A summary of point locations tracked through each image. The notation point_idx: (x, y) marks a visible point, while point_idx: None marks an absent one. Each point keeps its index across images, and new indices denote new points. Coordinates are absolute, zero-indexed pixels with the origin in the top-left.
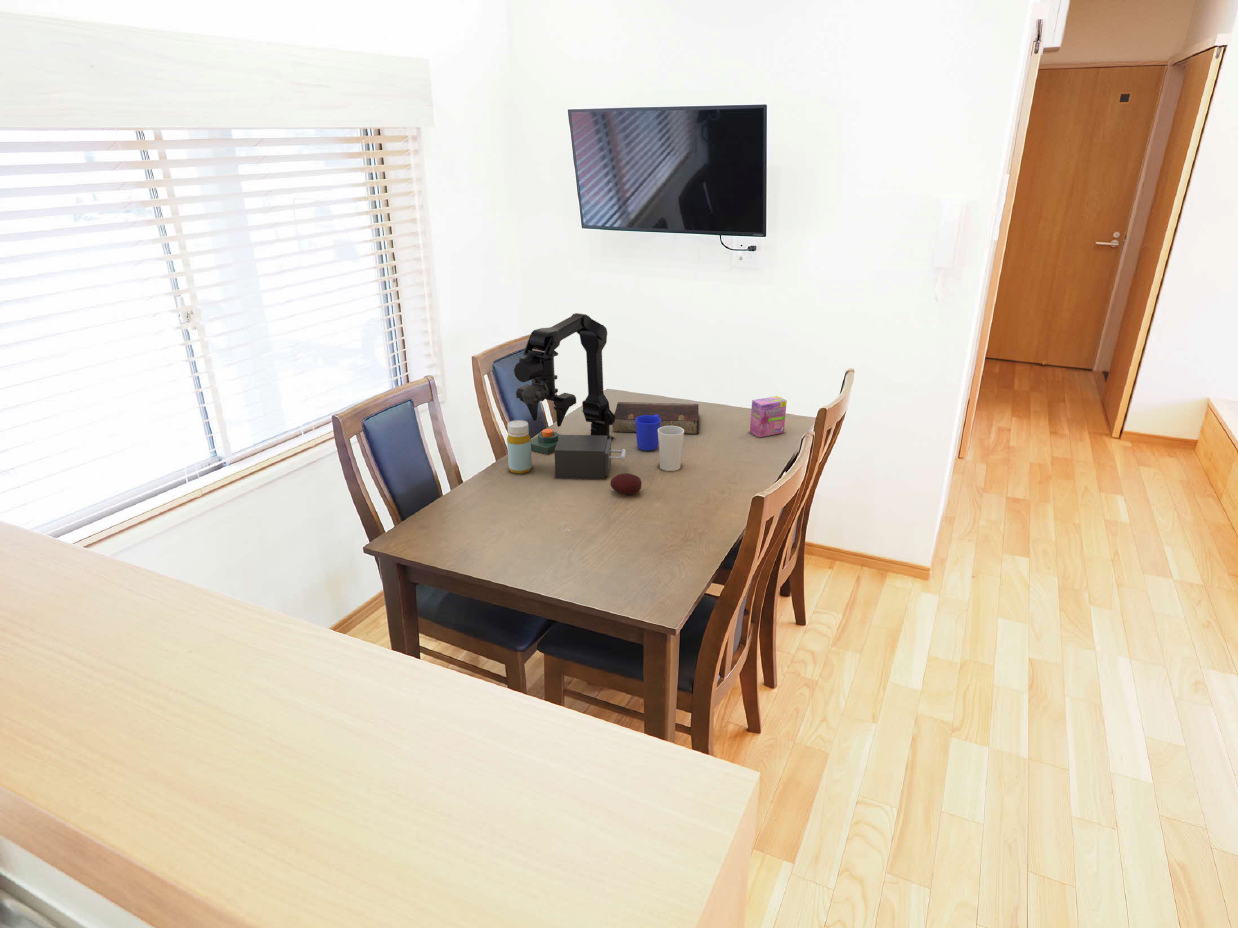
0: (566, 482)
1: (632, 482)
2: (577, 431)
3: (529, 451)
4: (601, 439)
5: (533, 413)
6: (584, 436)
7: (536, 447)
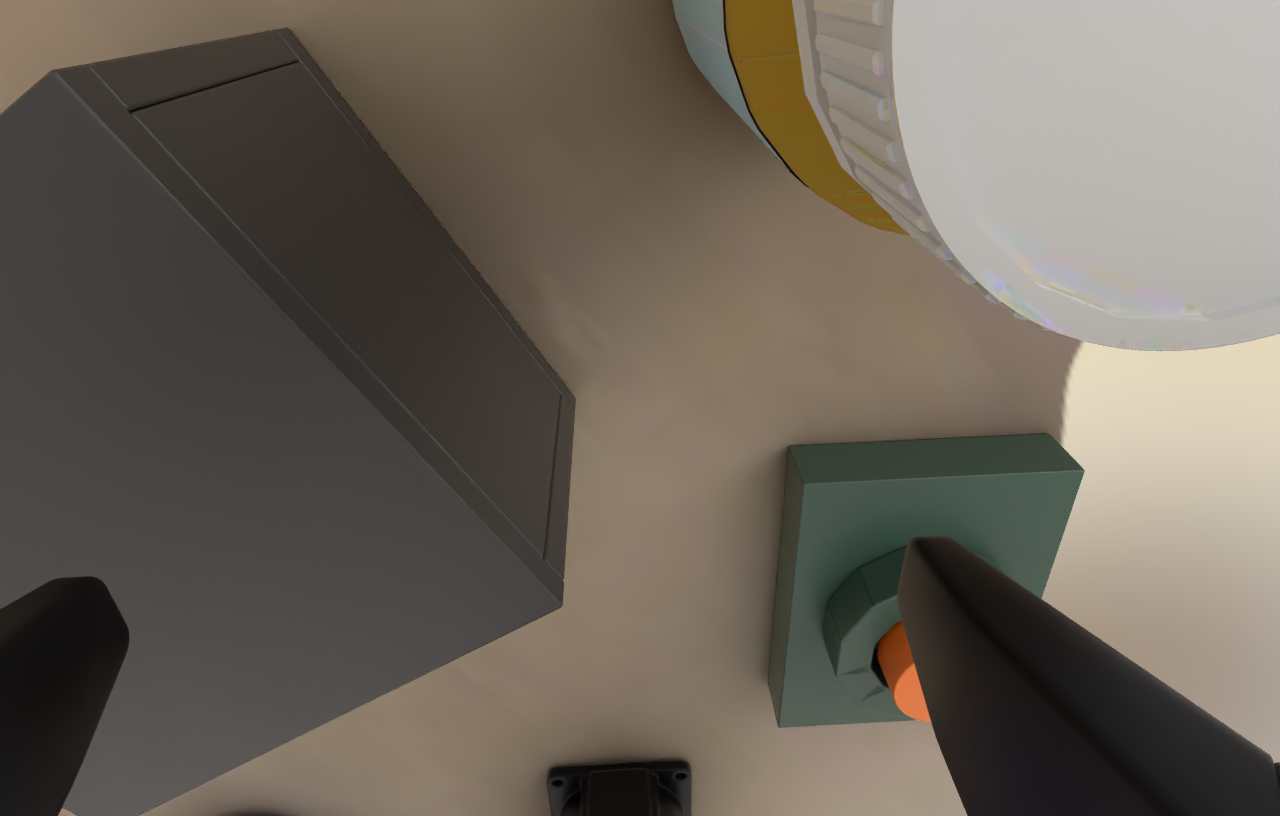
0: (98, 11)
1: None
2: (845, 811)
3: (697, 12)
4: None
5: (1033, 717)
6: (262, 709)
7: (939, 464)
